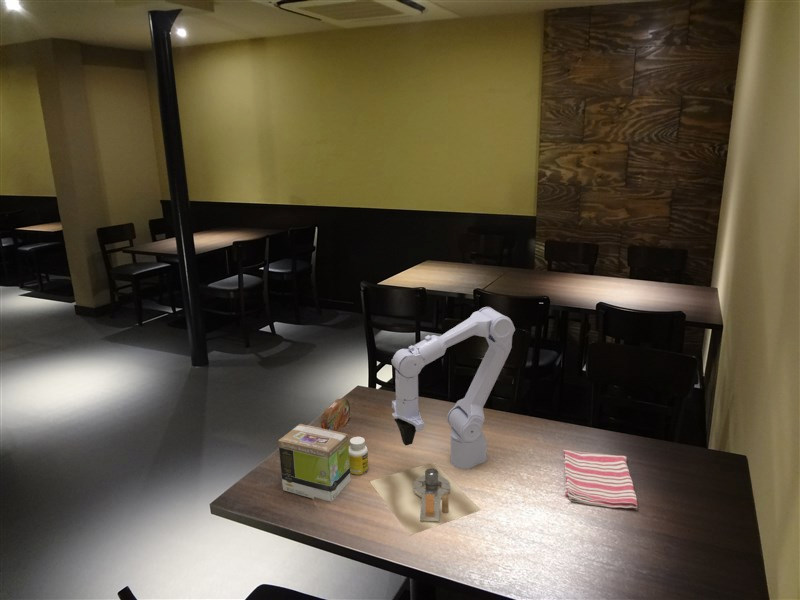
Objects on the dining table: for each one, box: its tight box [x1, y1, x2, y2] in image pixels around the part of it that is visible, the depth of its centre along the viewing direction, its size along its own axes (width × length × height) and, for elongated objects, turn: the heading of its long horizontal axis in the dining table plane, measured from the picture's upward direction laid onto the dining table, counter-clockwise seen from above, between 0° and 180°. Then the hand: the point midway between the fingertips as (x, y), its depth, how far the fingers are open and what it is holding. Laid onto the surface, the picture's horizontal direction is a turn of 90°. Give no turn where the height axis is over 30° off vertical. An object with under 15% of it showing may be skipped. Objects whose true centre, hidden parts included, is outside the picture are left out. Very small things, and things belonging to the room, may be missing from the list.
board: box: [369, 462, 482, 536], centre depth 138 cm, size 19×23×1 cm
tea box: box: [277, 423, 351, 502], centre depth 142 cm, size 15×10×15 cm, turn 65°
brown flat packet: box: [320, 398, 351, 432], centre depth 172 cm, size 15×3×8 cm, turn 159°
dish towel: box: [562, 449, 639, 511], centre depth 144 cm, size 17×23×4 cm
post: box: [425, 468, 438, 491], centre depth 140 cm, size 3×3×5 cm
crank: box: [413, 475, 450, 521], centre depth 136 cm, size 17×9×5 cm, turn 175°
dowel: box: [442, 495, 449, 513], centre depth 132 cm, size 2×2×4 cm
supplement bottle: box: [349, 436, 369, 476], centre depth 149 cm, size 5×5×10 cm
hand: (407, 443), depth 145 cm, fingers closed
